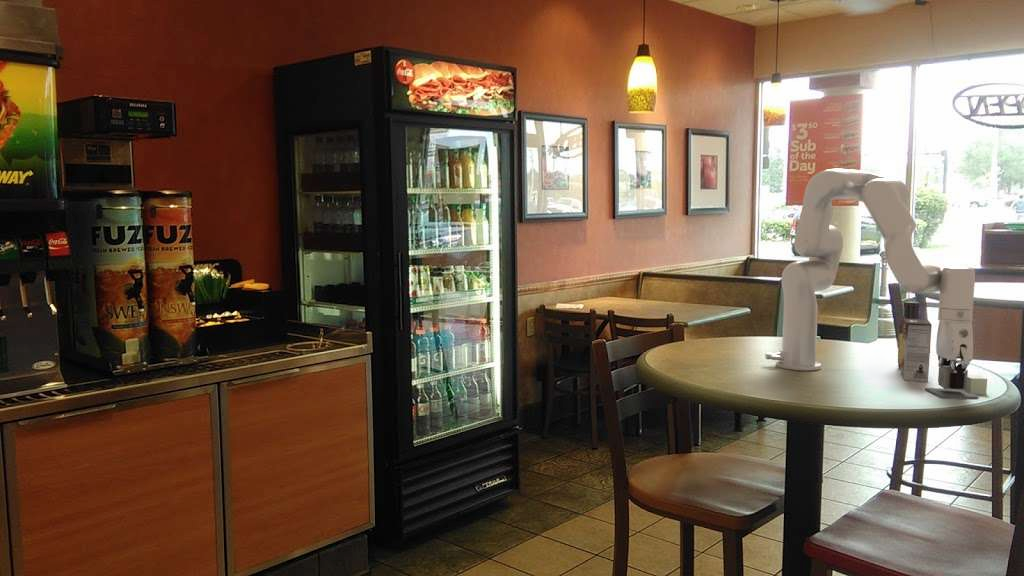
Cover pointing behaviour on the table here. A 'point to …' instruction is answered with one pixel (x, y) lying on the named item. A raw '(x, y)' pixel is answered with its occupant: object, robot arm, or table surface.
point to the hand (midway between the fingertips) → (950, 385)
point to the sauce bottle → (909, 313)
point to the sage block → (976, 384)
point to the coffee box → (916, 349)
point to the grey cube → (945, 377)
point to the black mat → (951, 393)
